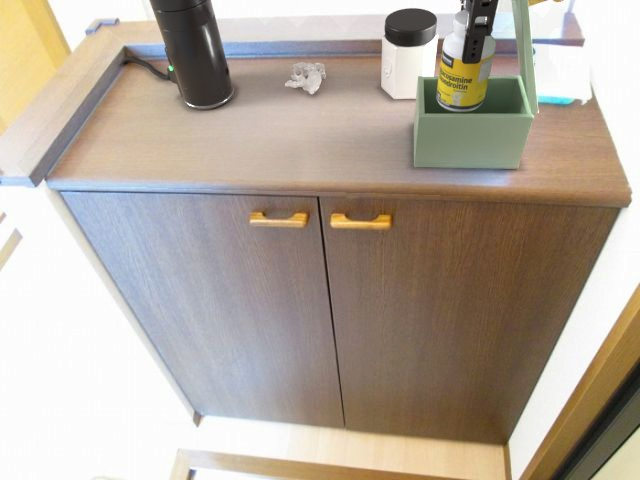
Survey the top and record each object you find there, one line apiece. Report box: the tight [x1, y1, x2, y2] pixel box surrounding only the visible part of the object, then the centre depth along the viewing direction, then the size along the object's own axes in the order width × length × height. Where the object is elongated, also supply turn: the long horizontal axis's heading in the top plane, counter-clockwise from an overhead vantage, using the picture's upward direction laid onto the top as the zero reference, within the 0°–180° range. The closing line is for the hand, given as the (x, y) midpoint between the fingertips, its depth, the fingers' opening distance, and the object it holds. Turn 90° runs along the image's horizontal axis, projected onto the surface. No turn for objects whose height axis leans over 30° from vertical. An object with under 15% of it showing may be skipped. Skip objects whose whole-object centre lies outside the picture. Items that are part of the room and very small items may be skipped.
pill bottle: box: [436, 10, 497, 112], centre depth 60 cm, size 6×6×12 cm
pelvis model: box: [284, 61, 327, 96], centre depth 84 cm, size 8×4×7 cm
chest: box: [413, 74, 535, 170], centre depth 67 cm, size 15×10×9 cm
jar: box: [380, 7, 439, 100], centre depth 77 cm, size 9×8×12 cm
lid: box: [511, 0, 564, 115], centre depth 56 cm, size 15×10×5 cm
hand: (468, 47), depth 59 cm, fingers closed on pill bottle, 6 cm apart
